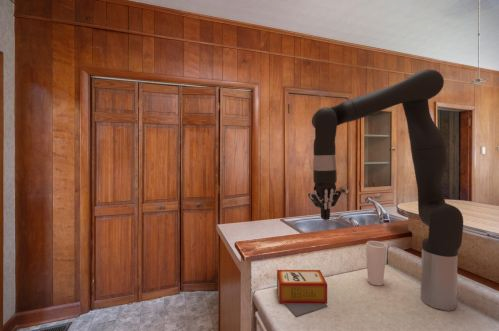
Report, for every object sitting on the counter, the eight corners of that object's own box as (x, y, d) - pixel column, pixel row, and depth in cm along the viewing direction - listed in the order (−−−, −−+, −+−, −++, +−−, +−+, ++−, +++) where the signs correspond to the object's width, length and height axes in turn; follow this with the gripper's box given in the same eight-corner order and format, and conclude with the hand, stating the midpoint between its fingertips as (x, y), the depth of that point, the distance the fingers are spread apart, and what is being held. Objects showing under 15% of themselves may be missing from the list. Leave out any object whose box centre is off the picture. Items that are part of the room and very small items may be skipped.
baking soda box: (327, 284, 80) (278, 283, 81) (327, 303, 80) (278, 303, 81) (319, 270, 89) (275, 269, 90) (319, 287, 90) (276, 287, 90)
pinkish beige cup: (389, 287, 90) (390, 247, 89) (370, 287, 90) (371, 247, 89) (379, 277, 97) (380, 240, 96) (362, 277, 97) (363, 240, 96)
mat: (306, 289, 89) (306, 288, 89) (327, 306, 79) (327, 305, 79) (278, 297, 85) (277, 296, 85) (296, 317, 74) (296, 315, 74)
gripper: (316, 170, 76) (317, 225, 77) (347, 168, 82) (348, 219, 83) (301, 169, 83) (302, 219, 84) (331, 167, 89) (332, 214, 90)
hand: (325, 219), depth 83 cm, fingers closed
